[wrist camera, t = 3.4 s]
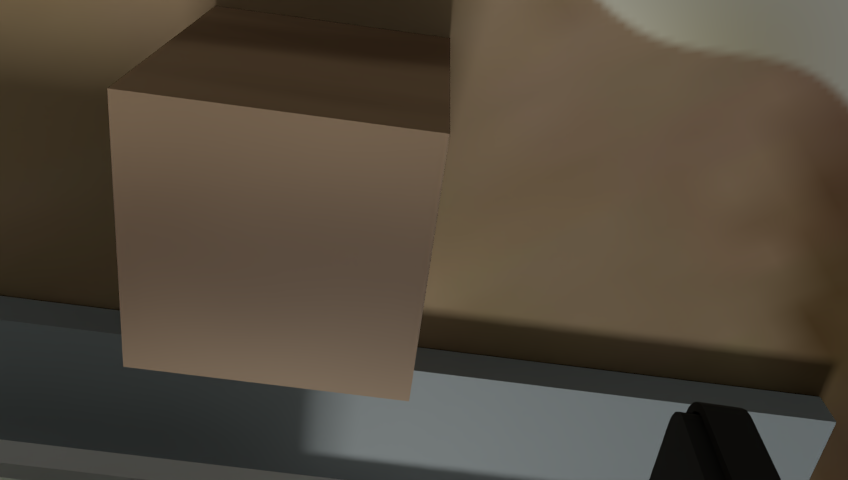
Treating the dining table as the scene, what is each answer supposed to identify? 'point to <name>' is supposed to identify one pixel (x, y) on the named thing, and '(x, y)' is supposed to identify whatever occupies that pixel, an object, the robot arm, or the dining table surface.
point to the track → (346, 416)
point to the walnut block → (279, 200)
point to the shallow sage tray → (0, 479)
